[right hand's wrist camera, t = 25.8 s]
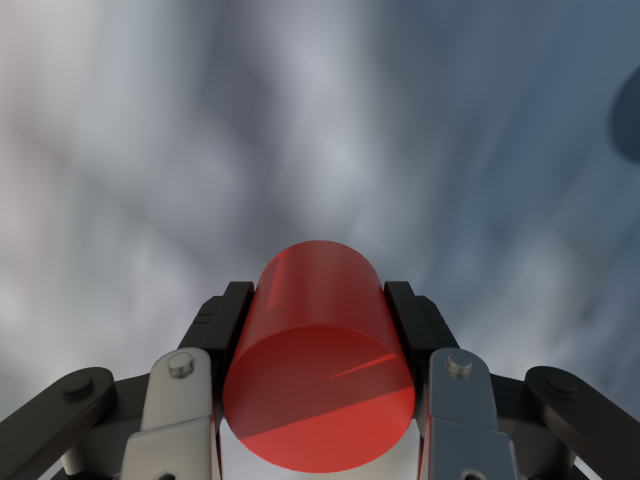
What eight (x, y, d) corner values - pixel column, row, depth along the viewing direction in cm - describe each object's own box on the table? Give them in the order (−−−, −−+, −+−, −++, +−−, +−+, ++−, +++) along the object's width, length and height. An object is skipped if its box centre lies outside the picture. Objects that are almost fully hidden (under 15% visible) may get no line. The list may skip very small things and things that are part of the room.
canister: (390, 337, 13) (426, 459, 9) (275, 358, 14) (252, 486, 9) (370, 227, 12) (401, 306, 7) (241, 254, 12) (193, 346, 8)
